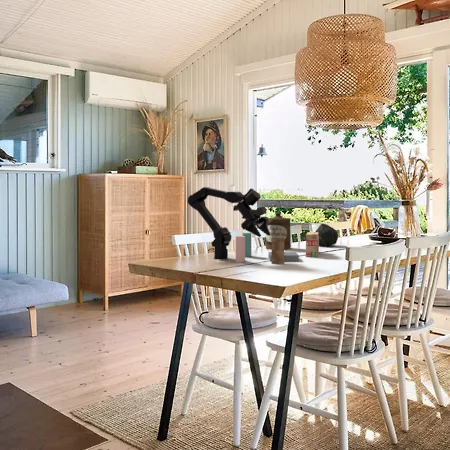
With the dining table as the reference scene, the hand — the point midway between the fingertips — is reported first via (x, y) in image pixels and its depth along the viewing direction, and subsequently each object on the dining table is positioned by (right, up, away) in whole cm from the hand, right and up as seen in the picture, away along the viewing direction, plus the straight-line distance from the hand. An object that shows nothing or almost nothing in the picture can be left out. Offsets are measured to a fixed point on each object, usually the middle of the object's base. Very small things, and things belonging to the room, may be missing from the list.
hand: (265, 235), depth 268 cm
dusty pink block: (-12, -13, +3) cm, 18 cm away
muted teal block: (-8, -11, +23) cm, 27 cm away
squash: (+43, -8, +73) cm, 85 cm away
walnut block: (+6, -13, -4) cm, 15 cm away
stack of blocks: (+28, -11, +30) cm, 43 cm away
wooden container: (+12, -9, +60) cm, 62 cm away
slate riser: (+10, -12, +10) cm, 19 cm away
